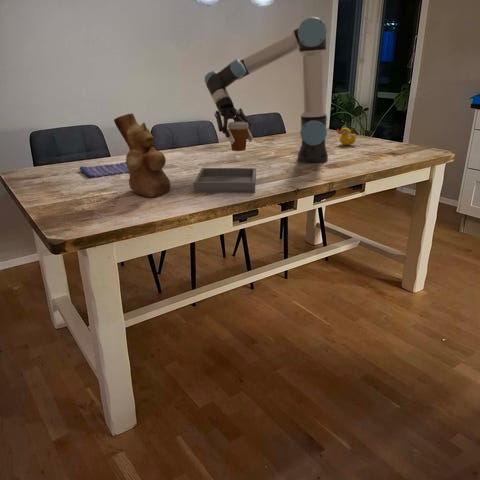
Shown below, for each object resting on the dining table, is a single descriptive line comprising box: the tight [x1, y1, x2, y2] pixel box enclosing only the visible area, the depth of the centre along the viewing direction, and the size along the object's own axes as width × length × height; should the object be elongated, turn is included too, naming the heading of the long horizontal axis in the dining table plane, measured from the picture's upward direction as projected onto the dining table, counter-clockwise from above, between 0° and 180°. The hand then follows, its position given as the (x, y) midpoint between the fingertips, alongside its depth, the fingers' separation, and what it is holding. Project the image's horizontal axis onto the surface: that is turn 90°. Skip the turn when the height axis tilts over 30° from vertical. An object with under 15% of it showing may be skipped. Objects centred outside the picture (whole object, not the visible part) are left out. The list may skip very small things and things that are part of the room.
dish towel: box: [78, 161, 129, 179], centre depth 213 cm, size 17×24×3 cm
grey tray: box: [193, 167, 257, 194], centre depth 191 cm, size 24×24×4 cm
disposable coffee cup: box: [227, 121, 249, 152], centre depth 206 cm, size 10×10×12 cm
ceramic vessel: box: [113, 112, 172, 198], centre depth 177 cm, size 16×22×30 cm
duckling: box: [336, 127, 357, 146], centre depth 266 cm, size 11×5×10 cm, turn 62°
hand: (242, 141), depth 205 cm, fingers closed on disposable coffee cup, 9 cm apart
